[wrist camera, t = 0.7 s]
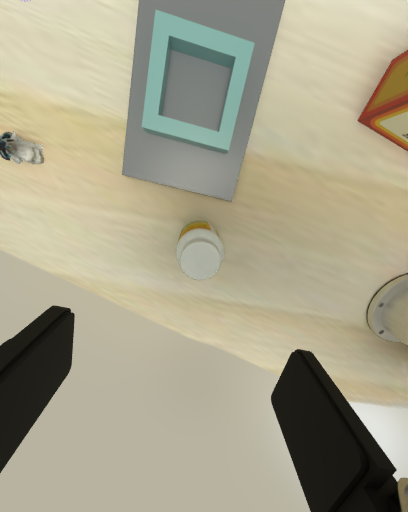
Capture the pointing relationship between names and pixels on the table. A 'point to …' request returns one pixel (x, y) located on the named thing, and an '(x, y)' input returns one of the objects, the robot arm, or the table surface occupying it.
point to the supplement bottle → (199, 250)
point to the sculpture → (20, 149)
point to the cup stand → (197, 90)
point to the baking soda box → (390, 104)
